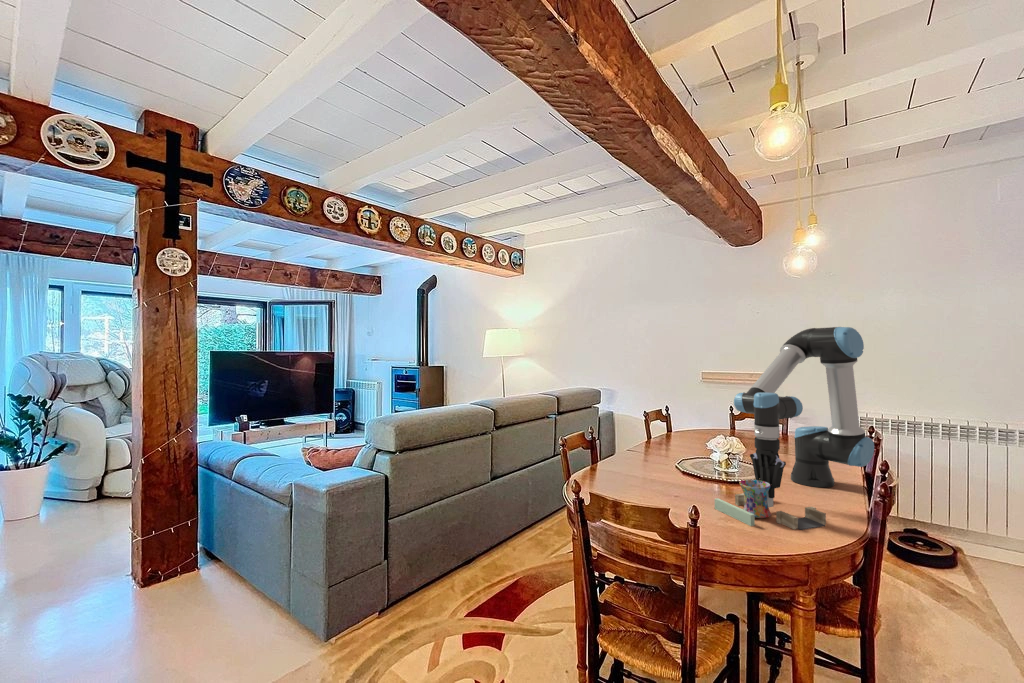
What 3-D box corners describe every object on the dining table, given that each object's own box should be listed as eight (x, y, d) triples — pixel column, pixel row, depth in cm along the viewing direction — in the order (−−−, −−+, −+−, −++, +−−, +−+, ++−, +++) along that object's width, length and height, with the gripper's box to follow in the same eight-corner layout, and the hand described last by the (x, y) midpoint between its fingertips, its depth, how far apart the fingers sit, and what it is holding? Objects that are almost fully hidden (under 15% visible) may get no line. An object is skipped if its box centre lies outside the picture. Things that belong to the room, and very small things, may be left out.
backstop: (718, 508, 156) (718, 498, 156) (754, 525, 141) (754, 514, 141) (714, 508, 156) (714, 498, 156) (750, 526, 140) (750, 515, 140)
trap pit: (805, 518, 146) (805, 517, 146) (825, 526, 140) (825, 525, 140) (781, 521, 144) (781, 520, 144) (800, 530, 137) (800, 529, 137)
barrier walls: (768, 499, 164) (768, 490, 164) (829, 523, 142) (829, 512, 142) (735, 504, 160) (735, 494, 160) (792, 529, 137) (792, 518, 137)
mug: (770, 522, 142) (768, 489, 143) (738, 517, 148) (736, 485, 148) (775, 510, 152) (773, 479, 152) (745, 506, 158) (743, 476, 158)
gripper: (742, 434, 158) (744, 500, 158) (774, 442, 145) (776, 514, 145) (759, 433, 160) (760, 498, 160) (792, 440, 147) (793, 511, 147)
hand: (768, 506), depth 152 cm, fingers closed
